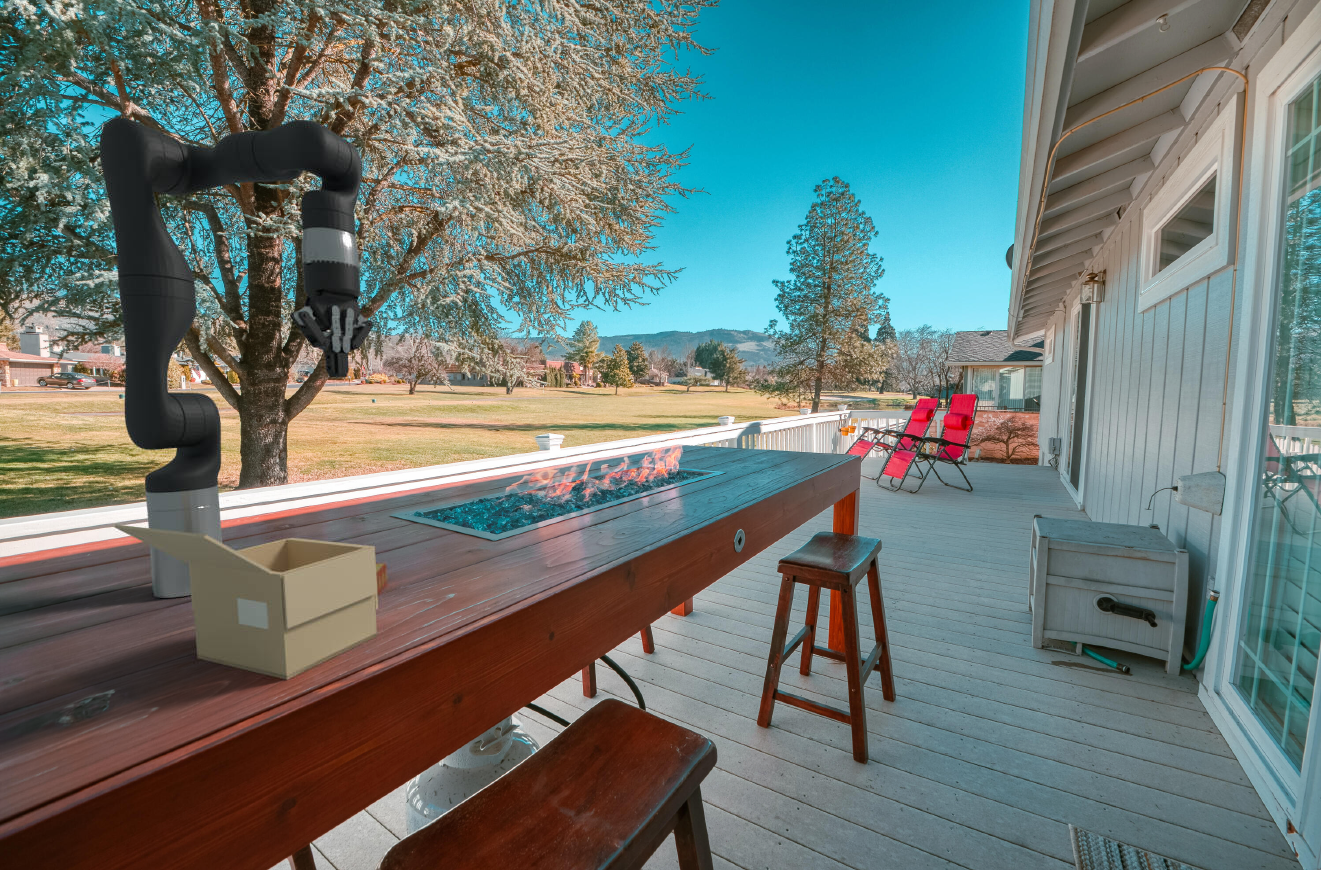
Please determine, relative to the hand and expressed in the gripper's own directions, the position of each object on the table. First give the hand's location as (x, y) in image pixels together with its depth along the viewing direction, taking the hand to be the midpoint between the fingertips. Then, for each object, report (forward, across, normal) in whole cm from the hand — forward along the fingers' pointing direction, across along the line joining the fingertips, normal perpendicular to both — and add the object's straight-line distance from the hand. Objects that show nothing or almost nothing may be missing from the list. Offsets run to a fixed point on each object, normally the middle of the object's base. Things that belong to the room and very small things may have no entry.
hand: (337, 377), depth 87 cm
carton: (+36, +1, -4) cm, 36 cm away
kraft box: (+35, +16, +9) cm, 40 cm away
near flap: (+20, +26, +9) cm, 34 cm away
